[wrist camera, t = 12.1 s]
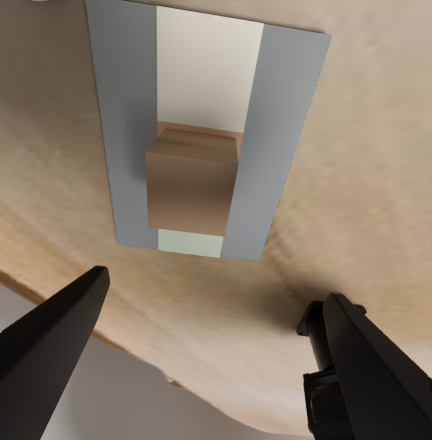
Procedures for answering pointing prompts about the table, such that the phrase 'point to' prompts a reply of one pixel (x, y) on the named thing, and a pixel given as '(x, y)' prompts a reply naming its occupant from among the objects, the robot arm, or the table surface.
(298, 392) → the table surface
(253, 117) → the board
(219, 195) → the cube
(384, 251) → the table surface
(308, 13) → the table surface
